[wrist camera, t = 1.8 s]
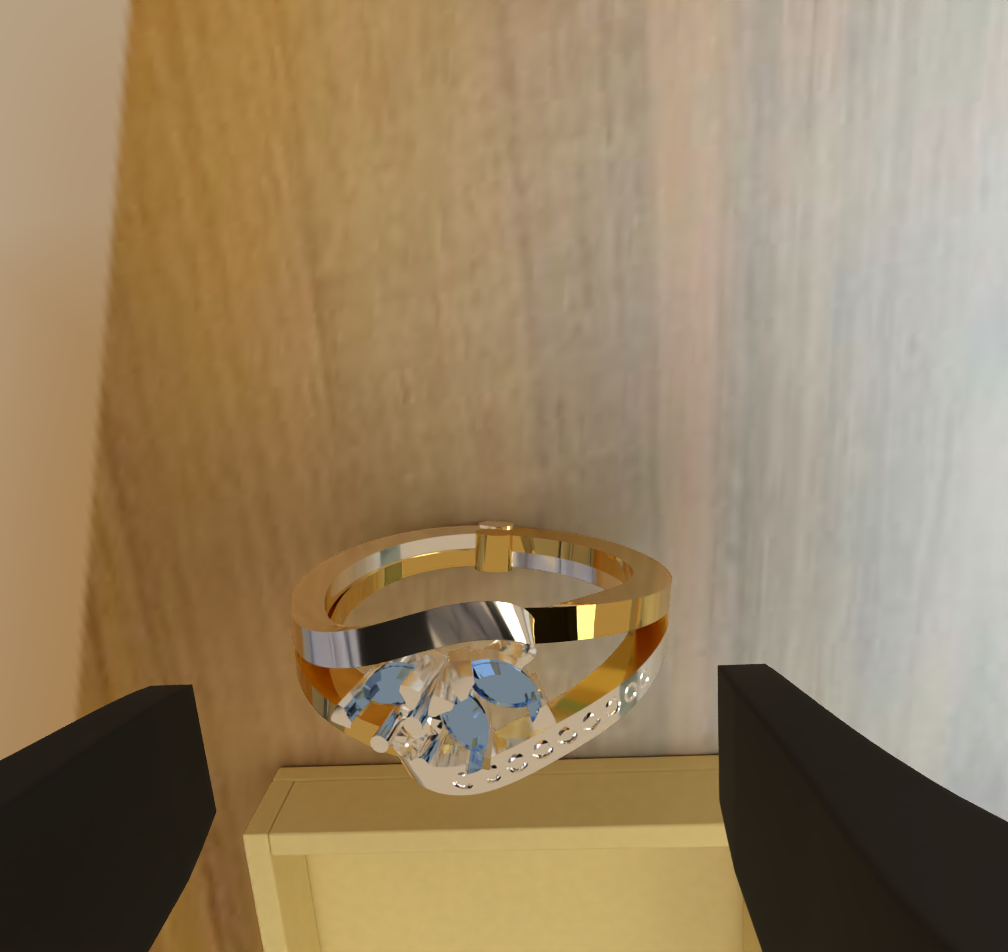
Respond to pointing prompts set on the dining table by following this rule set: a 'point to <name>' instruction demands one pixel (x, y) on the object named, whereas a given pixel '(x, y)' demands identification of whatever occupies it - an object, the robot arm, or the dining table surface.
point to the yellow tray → (498, 861)
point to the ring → (476, 651)
